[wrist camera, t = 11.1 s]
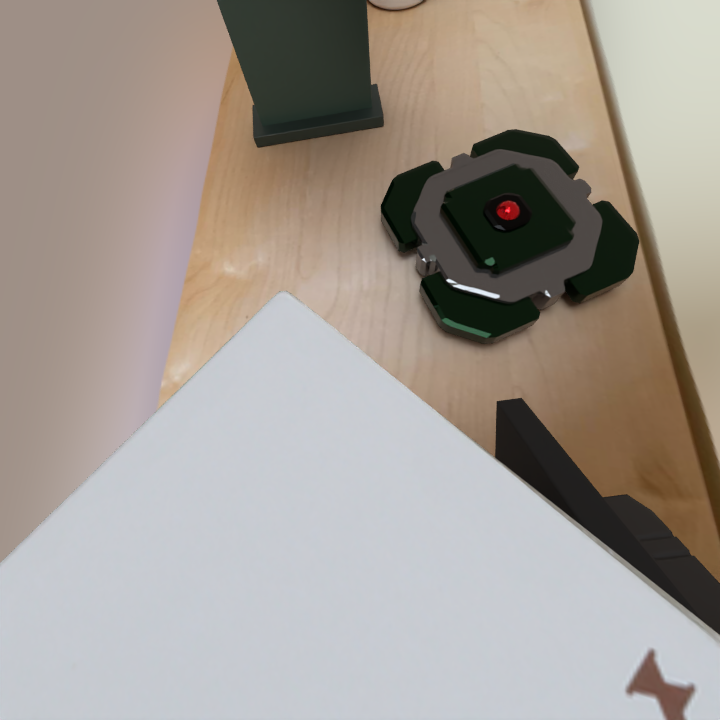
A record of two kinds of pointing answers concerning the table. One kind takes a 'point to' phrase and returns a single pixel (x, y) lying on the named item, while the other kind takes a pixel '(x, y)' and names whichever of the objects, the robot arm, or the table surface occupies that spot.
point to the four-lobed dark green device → (506, 235)
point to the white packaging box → (329, 567)
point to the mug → (395, 4)
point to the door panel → (304, 66)
